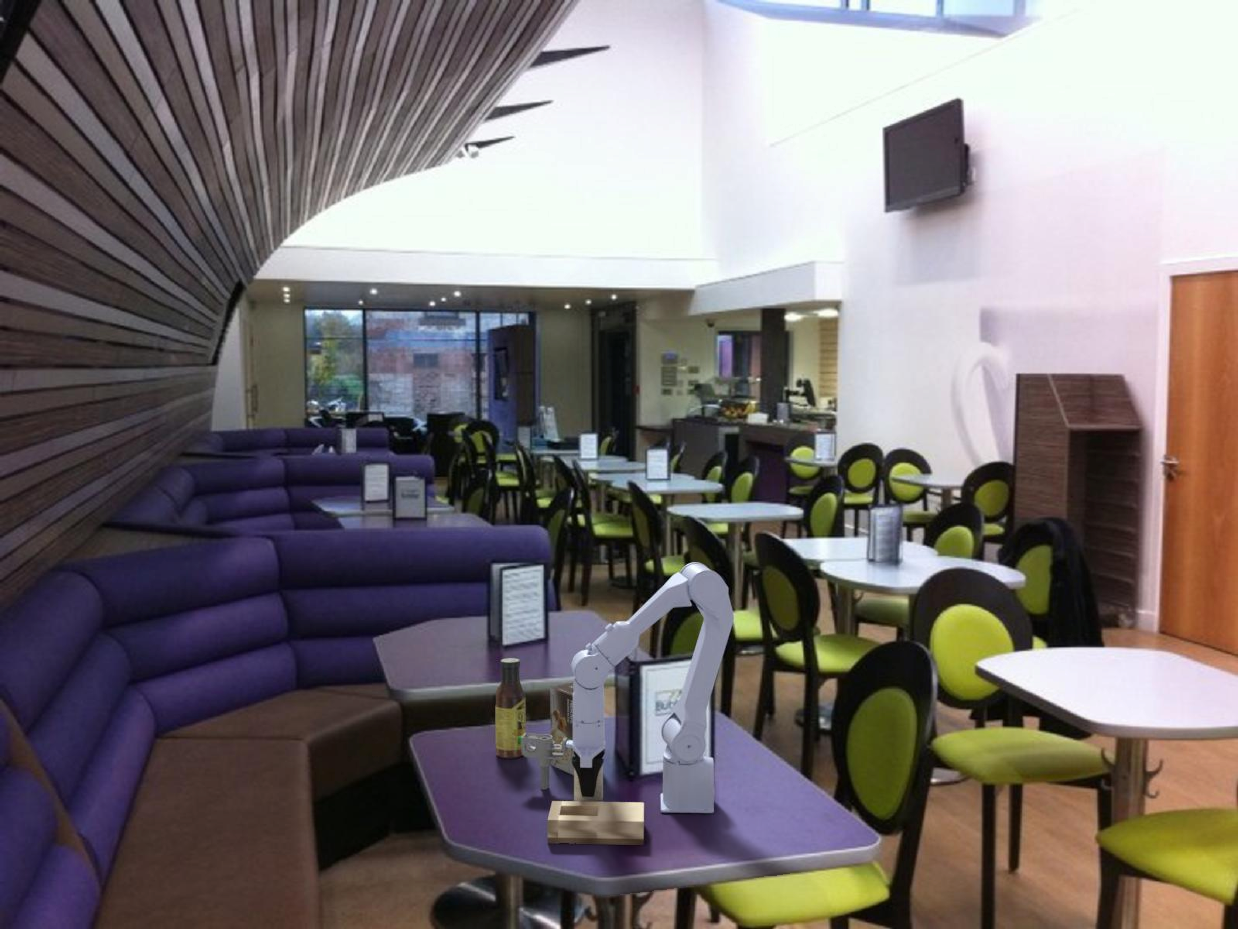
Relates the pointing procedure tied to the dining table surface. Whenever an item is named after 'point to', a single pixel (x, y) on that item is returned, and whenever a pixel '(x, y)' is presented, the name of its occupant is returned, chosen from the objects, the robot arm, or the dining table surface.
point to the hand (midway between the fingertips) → (588, 792)
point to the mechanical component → (542, 752)
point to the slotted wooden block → (596, 823)
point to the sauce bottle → (509, 710)
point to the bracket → (598, 791)
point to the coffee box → (562, 722)
